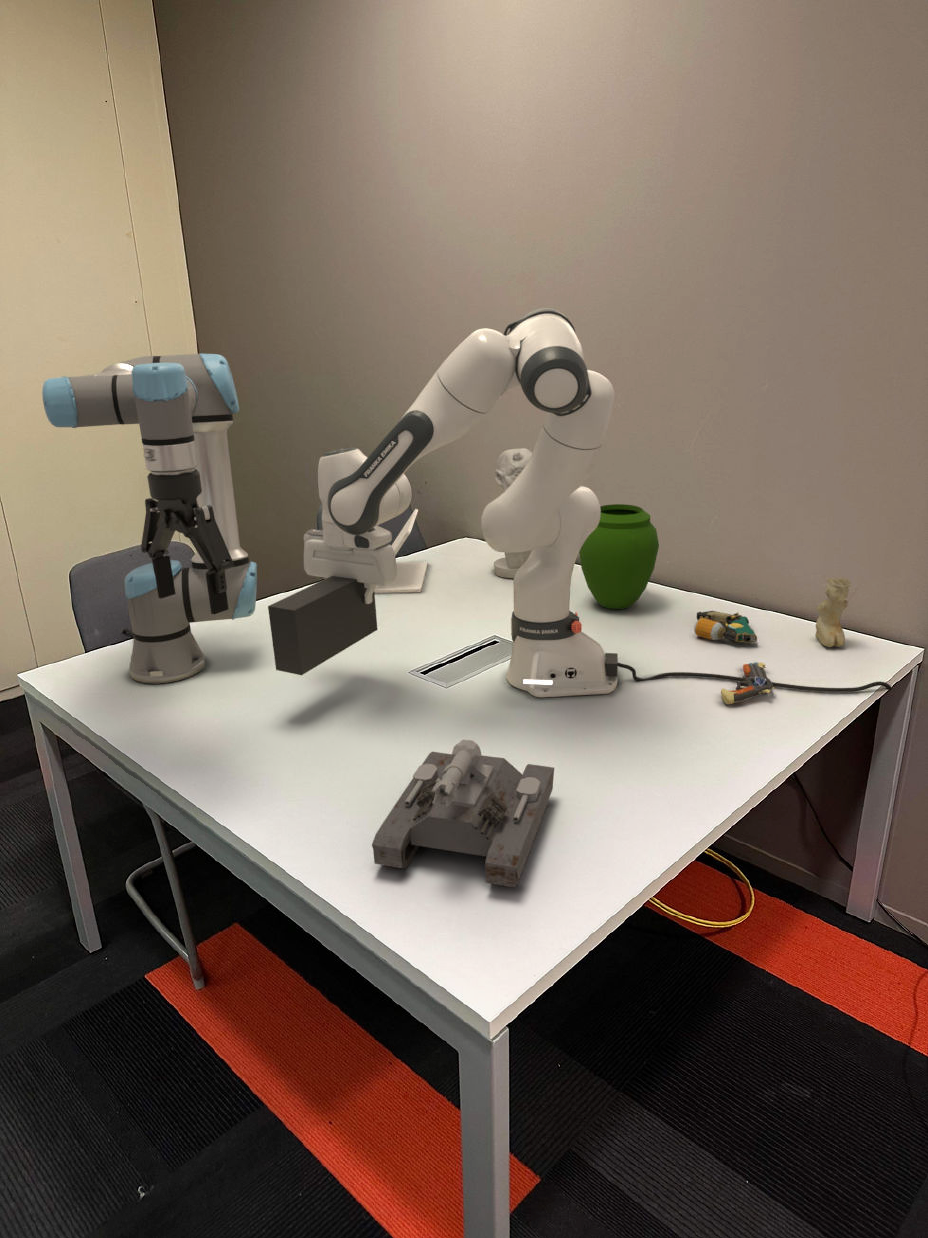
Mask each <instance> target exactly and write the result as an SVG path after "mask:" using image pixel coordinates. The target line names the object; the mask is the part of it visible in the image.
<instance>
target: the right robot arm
mask: <svg viewBox="0 0 928 1238" xmlns="http://www.w3.org/2000/svg"><path fill="white" fill-rule="evenodd" d="M576 333H577V332H576V329H575V327H574V325H573V323H572V322H571V320H570V319H569V318H568V317H567V316H566V315H565V314H564V313H562V312H561V311H560V310H558V309H555V308H552V307H541V308H536V309H534V310H532V311H530V312H528V313H526V314H525V315H523V316H522V317H521V318H520V319H518V320H516V321H514V322H510V323H509V324H508V325H507V326H506V328H505V330H504V331H503V333H502V332H500V331H498V330H496V329H492V328H488V327H487V328H486V327H485V328H479V329H476V330H474V331H473V332H472V333H470V334H469V335H468V336H467V337H466V338H465V339H464V340H463V341H461V342H460V343H459V344H458V345H457V346H456V348H454V350H453V351H451V353H450V354H449V355H448V356H447V357H446V359H445V360H444V361H443V362H442V363H441V365H440V366H439V367H438V369H437V370H436V371H435V372H434V374H433V375H432V376H431V378H430V379H429V380H428V382H427V384H425V386H424V387H423V389H422V390H421V391H420V393H419V395H418V396H417V397H416V399H415V400H414V402H413V403H412V404H411V406H410V407H409V408H408V409H407V410H406V411H405V413H404V414H403V416H402V417H401V418H400V419H399V421H398V422H397V423H396V425H395V426H393V428H392V429H391V430H390V431H389V432H388V433H387V435H386V436H385V437H384V438H383V439H382V441H380V443H379V444H378V445H377V446H376V448H375V449H374V450H373V451H372V452H371V453H370V455H369V456H367V455H365V454H364V453H363V452H362V451H361V450H360V449H359V448H357V447H353V446H352V447H343V448H339V449H335V450H330V451H328V452H325V453H323V454H322V456H320V458H319V460H318V466H317V484H318V485H317V486H318V497H319V501H320V502H321V508H322V513H321V526H322V529H314V528H310V529H308V530H307V531H306V532H304V534H303V544H304V547H303V570H304V571H305V573H306V574H307V575H308V576H312V577H321V578H324V579H326V578H329V577H331V576H337V577H344V578H351V579H357V582H361V583H364V586H365V588H367V590H366V592H365V594H363V595H361V599H362V603H364V604H370V603H372V601H373V600H372V593H373V592H374V590H375V588H376V585H383V586H386V585H388V584H390V583H392V582H394V581H395V579H396V577H397V566H396V562H397V559H396V555H395V553H394V550H393V548H392V544H390V543H391V542H392V540H393V534H392V532H391V531H390V530H388V529H385V528H384V527H381V526H380V525H381V524H383V523H386V522H388V521H390V520H392V519H394V518H396V517H398V516H400V515H402V514H403V513H405V512H406V511H407V510H408V509H409V507H410V506H411V503H412V502H413V501H412V500H413V487H412V483H411V481H410V479H409V478H408V476H407V475H406V474H405V473H406V472H407V471H408V470H409V469H410V468H411V466H412V465H413V464H415V463H417V461H418V460H420V459H421V458H423V457H424V456H426V455H428V454H430V453H431V452H433V451H435V450H438V449H439V448H442V447H444V446H446V445H448V444H451V443H454V442H455V441H457V440H459V439H461V438H463V437H464V436H465V435H467V434H468V433H470V432H471V431H472V430H473V429H474V428H475V427H477V425H479V424H480V422H481V421H482V420H483V419H484V418H485V417H486V416H487V415H488V413H489V412H491V409H493V407H494V406H495V404H496V403H497V402H498V400H499V399H500V398H501V397H502V396H503V395H505V394H506V393H507V392H508V391H510V390H512V389H515V388H516V387H519V386H520V387H521V390H522V392H523V395H524V396H525V398H526V399H527V400H528V401H529V403H530V404H532V406H533V407H535V408H537V409H538V410H540V411H543V412H546V415H545V417H544V419H543V423H542V425H541V428H540V432H539V434H538V437H537V440H536V443H535V446H534V448H533V451H532V455H531V458H530V459H529V461H528V463H527V464H526V466H525V467H524V469H523V470H522V472H521V473H520V474H519V476H518V477H517V478H516V479H515V481H514V482H513V483H512V484H511V485H510V486H509V488H508V489H507V490H506V491H505V492H504V493H503V492H502V493H501V494H500V495H499V496H498V497H496V498H495V499H494V500H492V501H490V502H489V503H487V505H486V506H485V507H484V509H483V510H482V514H481V518H480V529H481V530H480V531H481V534H482V537H483V539H484V540H485V542H486V544H487V545H488V546H489V547H490V548H491V549H492V550H493V551H494V552H497V553H504V552H525V551H529V550H532V552H531V554H530V556H529V558H528V559H527V561H526V562H525V563H524V564H523V565H522V566H521V567H520V568H519V569H518V571H517V572H516V574H515V577H514V578H513V611H512V612H511V618H510V635H511V640H512V645H511V646H512V647H511V655H510V660H509V665H508V669H507V672H506V675H505V678H506V681H507V683H509V684H510V685H511V686H513V687H515V688H517V689H519V690H522V691H525V692H527V693H529V694H530V695H531V696H533V697H535V698H556V697H572V696H573V697H574V696H588V695H589V696H590V695H591V696H592V695H607V694H611V693H612V692H613V691H615V690H616V688H617V686H618V667H619V668H622V669H626V670H629V671H630V672H631V675H632V679H633V680H634V681H636V682H647V681H653V680H658V679H662V678H668V677H696V678H711V679H722V680H729V681H736V682H739V681H743V677H741V676H732V675H725V674H717V673H706V672H688V671H686V672H685V671H674V672H673V671H671V672H663V673H662V672H661V673H659V674H656V675H653V676H649V677H644V678H642V677H639V676H637V670H636V669H635V668H634V667H633V666H631V665H629V664H626V663H622V662H619V661H618V659H619V658H618V656H619V655H618V653H616V652H605V651H604V648H603V647H602V645H601V644H600V643H599V642H598V641H596V640H595V639H593V638H591V637H590V636H589V635H587V634H586V633H585V632H583V631H582V630H583V626H582V625H583V624H582V622H581V621H580V616H579V615H578V612H577V611H575V613H574V612H573V611H571V610H570V600H571V585H572V584H571V582H572V576H573V575H572V574H573V571H574V567H575V564H576V563H577V562H576V561H577V559H578V556H579V555H580V554H579V552H580V550H581V548H582V546H583V544H584V542H585V541H586V539H587V538H588V537H589V535H590V534H591V533H592V532H593V531H594V530H595V529H596V528H597V526H598V524H599V521H600V516H601V509H600V506H601V505H600V501H599V498H598V497H597V495H596V494H595V492H594V491H593V490H591V488H589V487H587V486H583V485H584V484H585V483H586V482H587V481H588V479H589V478H590V476H591V473H592V471H593V468H594V466H595V464H596V461H597V458H598V456H599V453H600V451H601V448H602V446H603V444H604V440H605V438H606V435H607V433H608V429H609V426H610V422H611V418H612V414H613V409H614V403H615V397H616V393H615V389H614V385H613V384H612V383H611V382H610V380H609V379H608V378H607V377H605V376H604V374H603V375H602V374H601V373H600V372H597V371H594V370H591V369H588V368H587V365H586V360H585V355H584V349H583V347H582V344H581V342H580V340H579V338H578V335H577V334H576ZM324 579H323V580H324ZM771 682H772V685H773V687H774V688H775V687H776V688H784V689H791V690H799V691H809V692H827V693H853V692H854V693H855V692H861V691H864V690H868V689H871V688H874V687H879V686H882V687H884V688H886V689H887V690H893V687H892V686H891V685H890V684H889V683H888V682H885V681H874V682H870V683H867V684H865V685H860V686H855V687H824V686H823V687H821V686H819V687H818V686H806V685H797V684H789V683H781V682H775V681H771ZM765 685H766V683H765Z"/></svg>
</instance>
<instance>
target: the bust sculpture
mask: <svg viewBox="0 0 928 1238" xmlns="http://www.w3.org/2000/svg"><path fill="white" fill-rule="evenodd" d="M532 453H533V451H531V450H529V449H528V448H525V447H522V448H512V449H506V450H504V451H502V452H501V454H500V455H499V457H498V459H497V461H496V468H495V471H494V480H495V482H496V484H497V486H498V487H501V488H502V494H503V493H504V492H505V491H506V490H507V489H508V488H509V486H510V485H511V484H512V483H513V482H514V481H515V479H516V478H517V477H518V476H519V474H520V473H521V472H522V470H523V469H524V467H525V466H526V464H527V463H528V461H529V459H530V458H531V455H532ZM531 552H532V550H529V551H525V552H503V553H504V557H502V558H498V559H496V560H495V561H494V562H493V573H494V574H495V575H496V576H497V577H500V578H506V579H514V577H515V574H516V572H517V571H518V569H519V568H520V567H521V566H522V565H523V564H524V563H525V562H526V561H527V559H528V558H529V556H530V554H531Z"/></svg>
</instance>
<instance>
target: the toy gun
mask: <svg viewBox="0 0 928 1238" xmlns="http://www.w3.org/2000/svg"><path fill="white" fill-rule="evenodd" d="M765 669H766V664H765V663H764V662H757V661H755V662H754V663H753V662H749V663H744V664H743V665H742V670H743V673H744V674H743V675H745V676H742V678H743V681H736V687H735V690H734V689H733V690H728V689H726V688H722V689H720V695H721V698H722V701H723V703H725V704H726V705H733V704H734V703H738V702H743V701H745V700H748V699H751V698H756V697H758V696H760V695H763V694H768V695H769V694H771V691H772V690H773V689H775V686H773V685H772V682H773V681H772V680H771V679H770V678H769V677H768V676H767V673H766V672H765ZM765 683H766V685H765Z"/></svg>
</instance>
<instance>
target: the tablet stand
mask: <svg viewBox="0 0 928 1238" xmlns="http://www.w3.org/2000/svg"><path fill="white" fill-rule="evenodd" d="M418 512H419V509H418V508H415V509H414V510H413V512H412V513H411V515H410V516H409V518H408V520H407V521H406V522H405V524H404V526H403V527H402V529H401V530H400V532H399V533H398V535H397V536H396V538H395V540H394V541H393V542H392V544H391V546H392V548H393V550H394V553H395V556H396V555H397V554H398V552H399V550H400V549H401V548H402V547H403V545H404V543H405V542H406V540H407V538H408V537H409V536H410V534H411V533H412V530H413V526H414V524H415V521H416V518H417V515H418ZM396 566H397V577H396V579H395V581H394V582H392V583H390V584H388V585H386V586H383V585H376V588H375V590H374V592H375V594H384V593H385V594H388V593H389V594H390V593H391V594H393V593H421V592H422V591H423V590H422V589H423V586H424V582H425V577H426V573H427V569H428V562H427V561H404V562H403V561H401V562H397V561H396Z"/></svg>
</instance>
